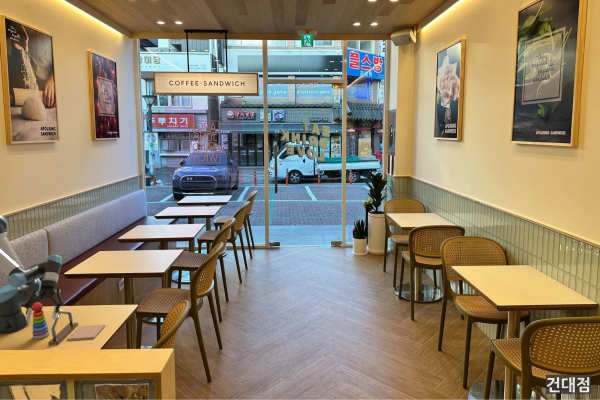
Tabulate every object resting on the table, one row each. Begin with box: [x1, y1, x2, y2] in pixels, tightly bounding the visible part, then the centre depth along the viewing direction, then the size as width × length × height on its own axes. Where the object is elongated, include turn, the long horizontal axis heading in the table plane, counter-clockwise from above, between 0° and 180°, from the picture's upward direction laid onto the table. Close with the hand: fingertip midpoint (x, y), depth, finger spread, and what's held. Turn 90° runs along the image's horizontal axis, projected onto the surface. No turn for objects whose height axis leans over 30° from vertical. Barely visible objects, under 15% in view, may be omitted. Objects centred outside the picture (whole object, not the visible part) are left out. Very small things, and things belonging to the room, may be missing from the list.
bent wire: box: [47, 309, 79, 346], centre depth 244 cm, size 22×5×14 cm, turn 1°
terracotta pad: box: [66, 324, 106, 341], centre depth 246 cm, size 14×14×1 cm
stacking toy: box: [32, 301, 50, 340], centre depth 244 cm, size 8×8×19 cm
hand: (40, 319), depth 244 cm, fingers open, 13 cm apart
